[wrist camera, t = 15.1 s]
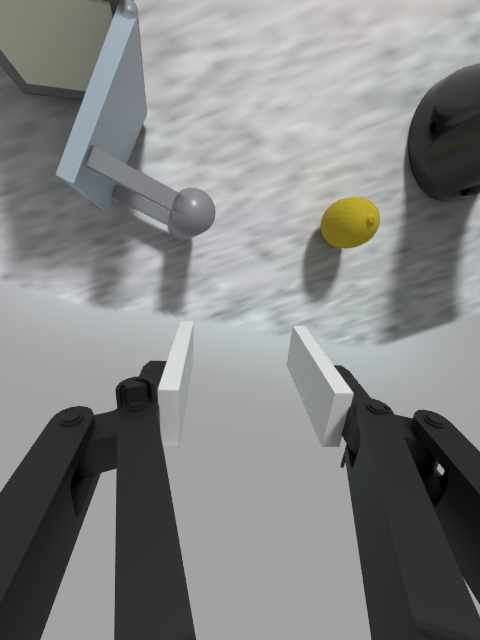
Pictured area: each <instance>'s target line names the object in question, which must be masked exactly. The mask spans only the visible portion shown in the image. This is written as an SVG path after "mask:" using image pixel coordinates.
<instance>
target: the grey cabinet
mask: <svg viewBox="0 0 480 640" xmlns="http://www.w3.org/2000/svg"><path fill="white" fill-rule="evenodd" d="M119 1H120V0H0V65H1V66H2V68H3V69H4V70H5V71H6V72H7V74H8V75H9V76H10V77H11V78H12V79H13V81H14V82H15V83H16V84H17V85H18V87H19V88H20V89H21V90H22V91H23V93H31V94H39V95H47V96H55V97H63V98H71V99H79V100H83V98H84V96H85V93H86V90H87V88H88V85H89V82H90V79H91V77H92V74H93V71H94V69H95V66H96V63H97V61H98V58H99V55H100V52H101V50H102V47H103V44H104V42H105V39H106V36H107V33H108V31H109V28H110V25H111V23H112V20H113V17H114V15H115V12H116V9H117V6H118V4H119ZM132 1H133V0H132Z"/></svg>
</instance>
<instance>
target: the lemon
mask: <svg viewBox="0 0 480 640" xmlns="http://www.w3.org/2000/svg"><path fill="white" fill-rule="evenodd" d="M379 223H380V215H379V211H378V209H377V207H376V206H375V204H374V203H372V202H371V201H370V200H368V199H365V198H362V197H348V198H344V199H341V200H339V201H337V202H335V203H334V204H332V205H331V206H330V207H329V208H328V209H327V210H326V212H325V213H324V215H323V217H322V221H321V232H322V235H323V237H324V238H325V240H326V241H327V242H328V243H329V244H331V245H333V246H335V247H338V248H352V247H357V246H359V245H362V244H364V243H366V242H367V241H368V240H370V239H371V238H372V237H373V236H374V234H375V233H376V231H377V229H378V227H379Z"/></svg>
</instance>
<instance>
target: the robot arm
mask: <svg viewBox="0 0 480 640" xmlns="http://www.w3.org/2000/svg"><path fill="white" fill-rule="evenodd" d="M409 155H410V162H411V167H412V170H413V173H414V176H415V178H416V180H417V182H418V183H419V185H420V186H421V188H422V189H423V190H424V191H425V192H426V193H427V194H428V195H429V196H431V197H433V198H435V199H437V200H440V201H454V200H460V199H465V198H469V197H472V196H475V195H477V194H479V193H480V63H479V64H475V65H472V66H467V67H465V68H462V69H460V70H458V71H456V72H454V73H452V74H451V75H449V76H448V77H446V78H444V79H443V80H441V81H439V82H438V83H437V84H435V85H434V86H433V87H432V88H431V89H430V90H429V91H428V92H427V93H426V95H425V96H424V98H423V99H422V101H421V102H420V104H419V106H418V108H417V110H416V113H415V116H414V118H413V122H412V126H411V131H410V138H409ZM192 364H193V322H191V321H180V323H179V326H178V329H177V332H176V335H175V338H174V341H173V345H172V348H171V351H170V354H169V357H168V360H167V361H150V362H148V363H147V364H146V365H145V366H143V369H142V371H141V374H140V375H139V377H132V378H128V379H126V380H124V381H122V382H120V383H119V384H118V385H117V387H116V399H117V409H116V410H114V411H111V412H107V413H102V414H97V415H94V414H93V412H92V410H91V409H90V408H88V407H83V406H77V407H70V408H68V409H65V410H62V411H61V412H59V413H57V414H56V415H55V416H54V417H53V418H52V419H51V420H50V421H49V423H48V424H47V426H46V427H45V429H44V430H43V431H42V433H41V435H40V436H39V437H38V439H37V440H36V442H35V443H34V444H33V446H32V447H31V449H30V450H29V452H28V453H27V455H26V456H25V457H24V459H23V461H22V462H21V463H20V465H19V466H18V468H17V469H16V471H15V472H14V474H13V475H12V476H11V478H10V479H9V481H8V482H7V484H6V485H5V487H4V488H3V490H2V491H1V492H0V640H40V639H41V636H42V633H43V630H44V628H45V625H46V622H47V620H48V617H49V614H50V611H51V609H52V606H53V603H54V600H55V597H56V595H57V592H58V589H59V587H60V584H61V581H62V578H63V576H64V573H65V570H66V567H67V565H68V562H69V559H70V556H71V554H72V551H73V548H74V545H75V543H76V540H77V537H78V535H79V531H80V529H81V526H82V524H83V521H84V518H85V515H86V513H87V510H88V507H89V504H90V502H91V499H92V496H93V493H94V491H95V488H96V485H97V482H98V480H99V477H100V474H101V473H102V472H106V471H109V470H112V469H116V468H117V484H116V487H117V488H116V558H115V561H116V562H115V563H116V564H115V633H114V635H115V636H114V640H196V636H195V631H194V625H193V619H192V614H191V608H190V602H189V596H188V590H187V585H186V578H185V573H184V567H183V561H182V555H181V549H180V544H179V538H178V532H177V526H176V520H175V515H174V508H173V503H172V497H171V491H170V485H169V479H168V473H167V468H166V463H165V456H164V450H163V447H165V446H166V447H179V444H180V438H181V432H182V425H183V419H184V413H185V407H186V401H187V395H188V388H189V382H190V376H191V370H192ZM287 367H288V369H289V371H290V373H291V376H292V378H293V381H294V383H295V385H296V388H297V390H298V392H299V394H300V397H301V399H302V401H303V404H304V406H305V408H306V410H307V413H308V415H309V417H310V420H311V422H312V425H313V427H314V429H315V432H316V434H317V436H318V438H319V441H320V443H321V445H322V447H325V446H326V447H328V446H329V447H339V445H340V442H341V438H342V436H343V438H344V440H345V441H346V443H347V444H346V448H345V452H344V455H343V458H342V462H341V467H342V468H343V467H344V464H345V463H346V466H347V473H348V481H349V487H350V494H351V501H352V508H353V514H354V522H355V528H356V535H357V542H358V548H359V555H360V563H361V570H362V576H363V584H364V590H365V597H366V604H367V611H368V618H369V624H370V632H371V639H372V640H480V617H479V614H478V612H477V610H476V607H475V605H474V603H473V600H472V598H471V595H470V593H469V591H468V588H467V586H466V584H465V581H466V583H467V584H468V586H469V588H470V589H471V591H472V592H473V594H474V596H475V597H476V599H477V601H478V602H479V604H480V452H479V451H478V450H477V449H476V447H474V446H473V444H471V442H469V441H468V440H467V438H465V436H463V434H462V433H461V432H460V431H459V430H458V429H457V428H455V426H454V425H453V424H452V423H451V422H449V421H448V420H447V419H446V418H444V417H443V416H441V415H439V414H437V413H435V412H432V411H427V410H418V411H416V412H415V414H414V416H413V419H412V418H408V417H403V416H398V415H395V414H394V413H393V411H392V410H391V408H390V407H389V406H387V405H386V404H385V403H382V402H381V401H379V400H375V399H371V398H370V397H369V395H368V394H367V393H366V392H365V390H364V389H363V388H362V387H361V385H360V384H358V381H357V380H356V379H354V376H353V375H352V374H351V373H350V371H348V370H347V369H345V368H344V367H343V366H336V365H333V364H332V363H331V361H330V360H329V359H328V357H327V356H326V354H325V353H324V352H323V350H322V349H321V348H320V346H319V345H318V343H317V342H316V341H315V339H314V338H313V336H312V335H311V334H310V332H309V331H308V330H307V328H306V327H305V326H293V329H292V335H291V341H290V348H289V354H288V360H287ZM438 464H440V465H441V466H442V467H443V469H444V470H445V472H444V474H443V475H441V474H440V473H439V472H438V470H437V467H438ZM463 578H464V579H465V581H464V579H463Z"/></svg>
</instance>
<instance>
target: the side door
mask: <svg viewBox="0 0 480 640" xmlns="http://www.w3.org/2000/svg"><path fill="white" fill-rule="evenodd" d="M146 115H147V108H146V97H145V86H144V75H143V64H142V54H141V43H140V32H139V21H138V10H137V6H136V4H135V3H134V2H133V1H132V0H120V1H119V4H118V6H117V9H116V12H115V15H114V17H113V20H112V23H111V25H110V28H109V31H108V33H107V36H106V39H105V42H104V44H103V47H102V50H101V52H100V55H99V58H98V61H97V63H96V66H95V69H94V71H93V74H92V77H91V79H90V82H89V85H88V88H87V90H86V93H85V96H84V98H83V101H82V104H81V107H80V109H79V112H78V115H77V117H76V120H75V123H74V125H73V128H72V131H71V134H70V136H69V139H68V142H67V144H66V147H65V150H64V153H63V155H62V158H61V161H60V163H59V166H58V169H57V171H56V174H55V175H56V176H58V177H59V178H60V179H61V180H63V181H64V182H65V183H67V184H68V185H69V186H71V187H72V188H73V189H75V190H76V191H77V192H79V193H80V194H81V195H83V196H84V197H85V198H87V199H88V200H89V201H90V202H92V203H93V204H94V205H96V206H97V207H99V208H101V209H103V210H105V211H107V212H109V209H110V207H111V204H112V202H113V199H116V200H118V201H120V202H122V203H124V204H126V205H128V206H130V207H132V208H134V209H136V210H138V211H140V212H142V213H144V214H146V215H148V216H150V217H152V218H154V219H156V220H158V221H160V222H162V223H164V224H166V225H168V230H169V233H170V234H171V235H172V236H173V237H174V238H175V239H177V240H180V241H186V240H189V239H191V238H193V237H195V236H197V235H199V234H201V233H203V232H205V231H206V230H208V229H209V228H210V227H211V225H212V224H213V222H214V219H215V206H214V203H213V201H212V199H211V198H210V197H209V195H208V194H206V193H205V192H204V191H202V190H200V189H197V188H187V189H184V190H182V191H180V192H179V193H178V192H176V191H174V190H173V189H171V188H169V187H167V186H165V185H163V184H162V183H160V182H158V181H156V180H154V179H152V178H151V177H149V176H147V175H145V174H143V173H142V172H140V171H138V170H136V169H134V168H132V167H131V166H129V165H127V163H128V161H129V158H130V156H131V153H132V151H133V148H134V146H135V143H136V141H137V138H138V135H139V133H140V130H141V128H142V125H143V123H144V120H145V118H146ZM119 185H121V186H123V187H124V188H123V187H121V186H119ZM125 188H126V189H128V190H130V191H132V192H134V193H136V194H138V195H140V196H142V197H144V198H146V199H148V200H150V201H151V202H150V201H148V200H146V199H144V198H142V197H140V196H138V195H136V194H134V193H132V192H130V191H128V190H126V189H125ZM152 202H153V203H152ZM154 203H155V204H157V205H159V206H161V207H163V208H165V209H167V210H169V211H170V212H169V211H167V210H165V209H163V208H161V207H159V206H157V205H155V204H154Z"/></svg>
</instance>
